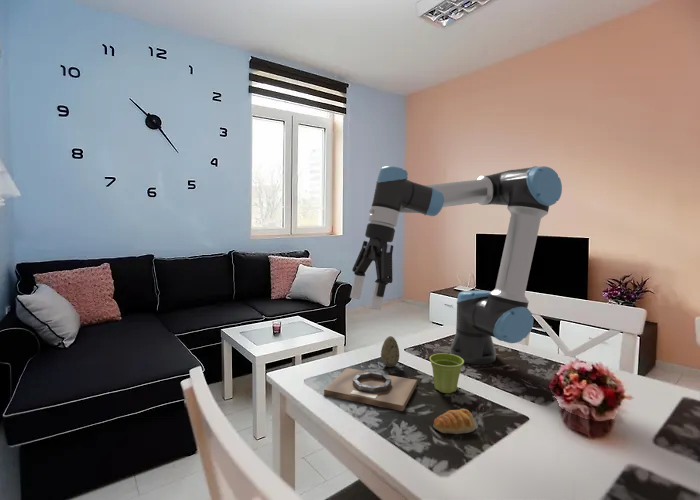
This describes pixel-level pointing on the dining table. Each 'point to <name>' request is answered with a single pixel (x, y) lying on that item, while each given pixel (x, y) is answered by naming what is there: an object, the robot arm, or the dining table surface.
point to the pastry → (455, 422)
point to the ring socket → (371, 388)
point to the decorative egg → (390, 352)
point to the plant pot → (446, 371)
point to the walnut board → (390, 399)
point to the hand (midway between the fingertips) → (364, 303)
